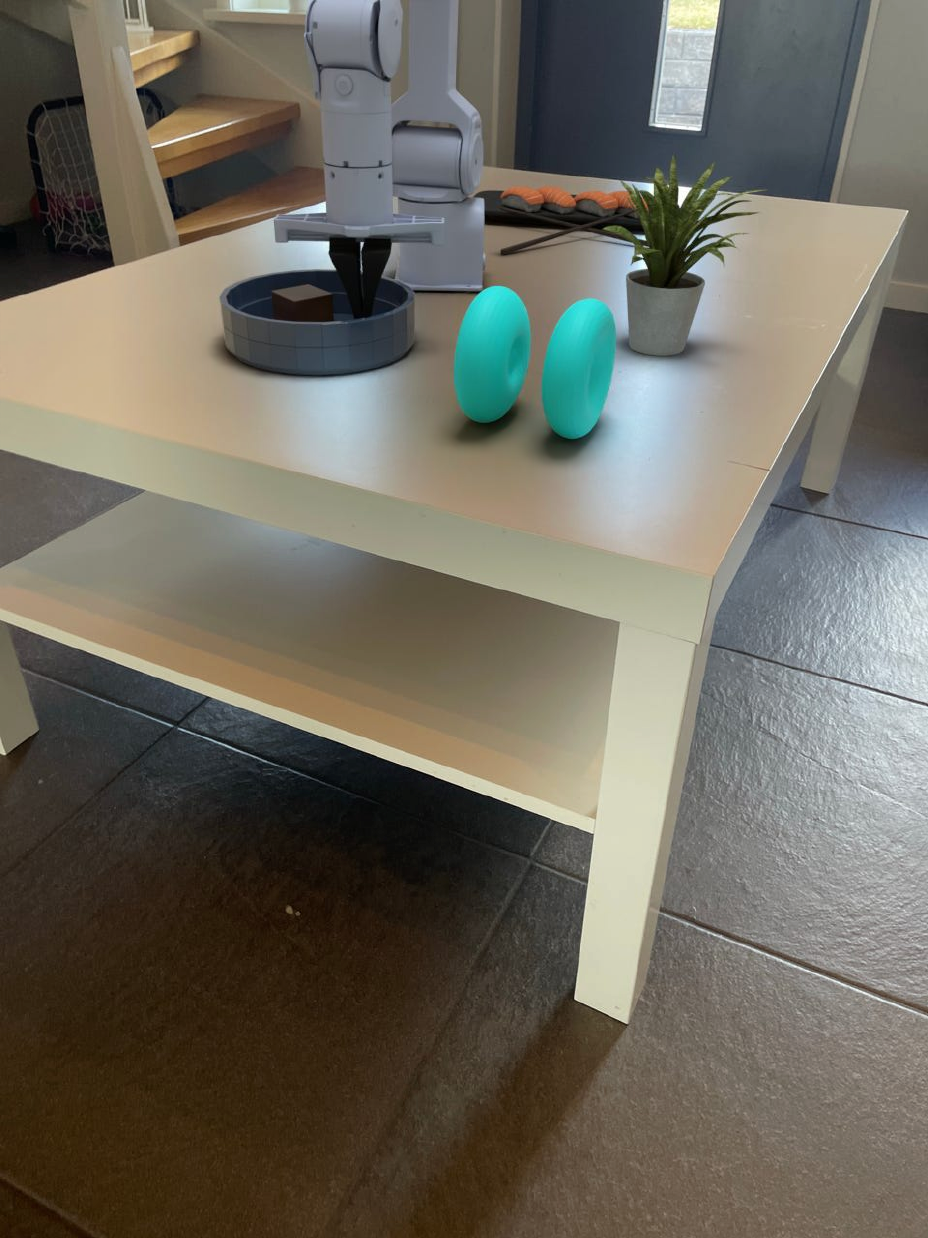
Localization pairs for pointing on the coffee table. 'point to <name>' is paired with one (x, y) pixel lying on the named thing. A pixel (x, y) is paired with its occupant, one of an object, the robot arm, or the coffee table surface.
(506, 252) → the sushi plate
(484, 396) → the donuts
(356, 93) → the robot arm
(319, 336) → the bowl
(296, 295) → the block
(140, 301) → the coffee table surface
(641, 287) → the house plant
